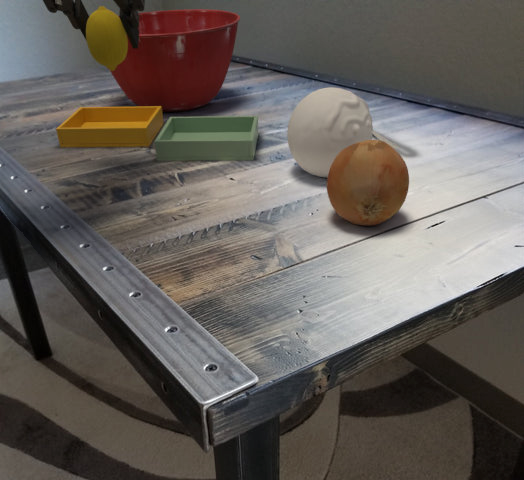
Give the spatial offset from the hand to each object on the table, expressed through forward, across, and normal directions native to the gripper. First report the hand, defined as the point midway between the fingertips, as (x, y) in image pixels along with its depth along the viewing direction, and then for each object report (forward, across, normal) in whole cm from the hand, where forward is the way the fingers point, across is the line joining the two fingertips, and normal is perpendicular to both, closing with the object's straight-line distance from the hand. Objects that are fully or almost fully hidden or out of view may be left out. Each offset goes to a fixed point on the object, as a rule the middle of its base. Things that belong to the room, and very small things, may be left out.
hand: (114, 40), depth 83 cm
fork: (+20, +39, -5) cm, 44 cm away
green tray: (+15, +12, -9) cm, 21 cm away
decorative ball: (+7, +31, -18) cm, 36 cm away
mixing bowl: (+35, +1, +10) cm, 37 cm away
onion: (-5, +35, -29) cm, 46 cm away
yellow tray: (+20, -6, -4) cm, 21 cm away
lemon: (0, 0, -5) cm, 5 cm away
